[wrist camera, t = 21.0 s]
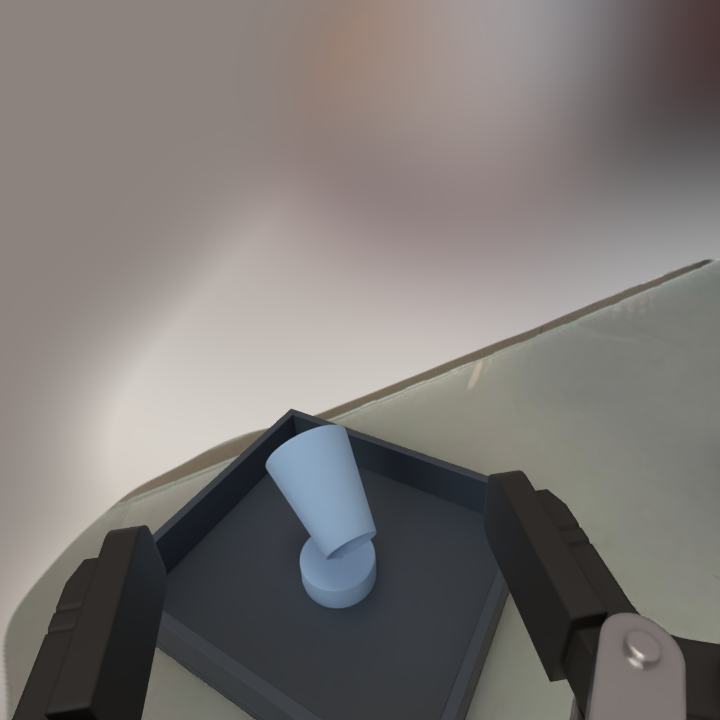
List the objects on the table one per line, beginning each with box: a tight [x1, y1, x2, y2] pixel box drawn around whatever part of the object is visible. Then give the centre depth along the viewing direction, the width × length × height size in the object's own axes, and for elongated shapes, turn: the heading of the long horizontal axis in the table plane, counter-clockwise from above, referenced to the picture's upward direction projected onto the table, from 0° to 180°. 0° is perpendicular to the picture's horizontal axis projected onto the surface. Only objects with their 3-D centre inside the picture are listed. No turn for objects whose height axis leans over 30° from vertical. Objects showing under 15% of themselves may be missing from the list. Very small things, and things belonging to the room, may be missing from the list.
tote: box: [152, 409, 509, 720], centre depth 29 cm, size 19×17×4 cm
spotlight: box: [266, 425, 377, 608], centre depth 27 cm, size 5×10×7 cm
